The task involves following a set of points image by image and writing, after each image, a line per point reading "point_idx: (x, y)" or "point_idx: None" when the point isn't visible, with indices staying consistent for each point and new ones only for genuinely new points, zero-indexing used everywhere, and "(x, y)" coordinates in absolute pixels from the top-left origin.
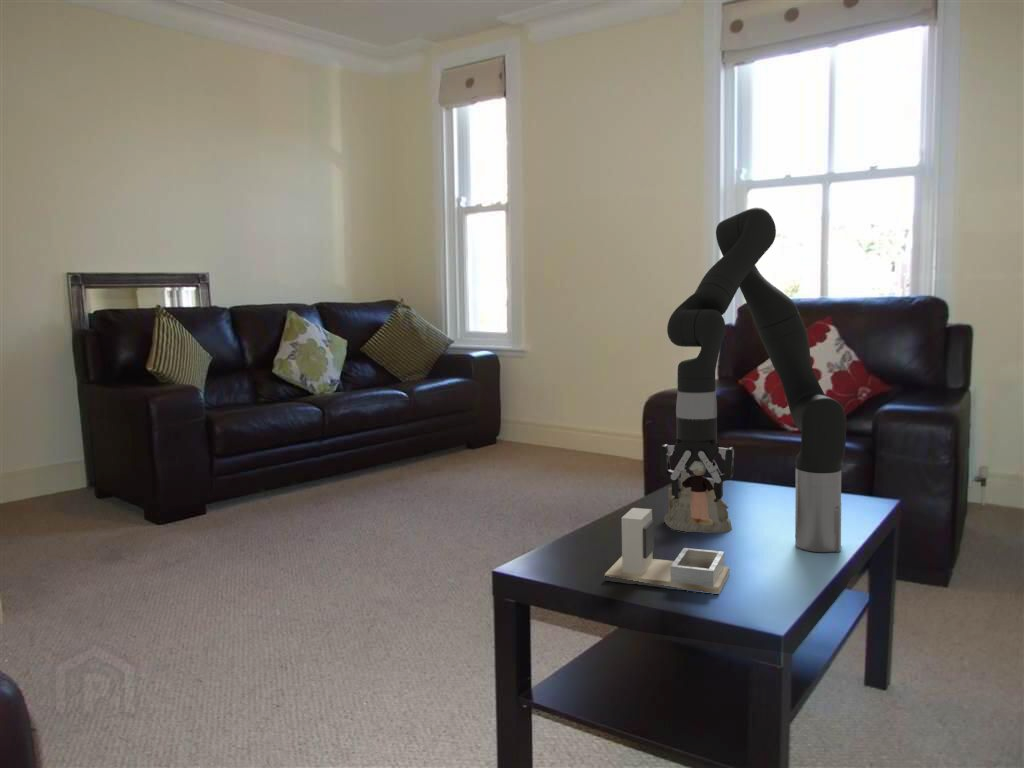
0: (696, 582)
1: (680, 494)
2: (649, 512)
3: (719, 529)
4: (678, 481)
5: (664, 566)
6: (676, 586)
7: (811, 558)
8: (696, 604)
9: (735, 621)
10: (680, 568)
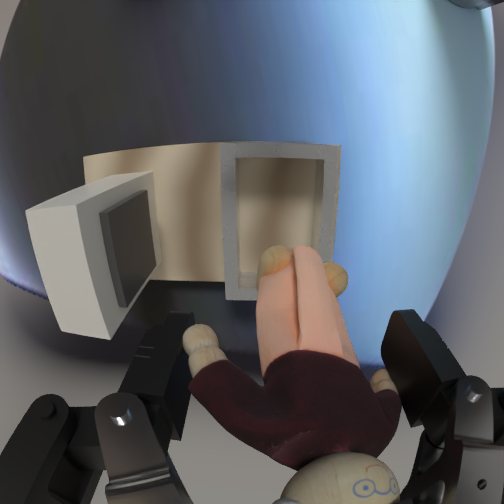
0: None
1: (190, 325)
2: (84, 241)
3: None
4: (179, 430)
5: (188, 192)
6: None
7: (456, 30)
8: None
9: None
10: (249, 299)
